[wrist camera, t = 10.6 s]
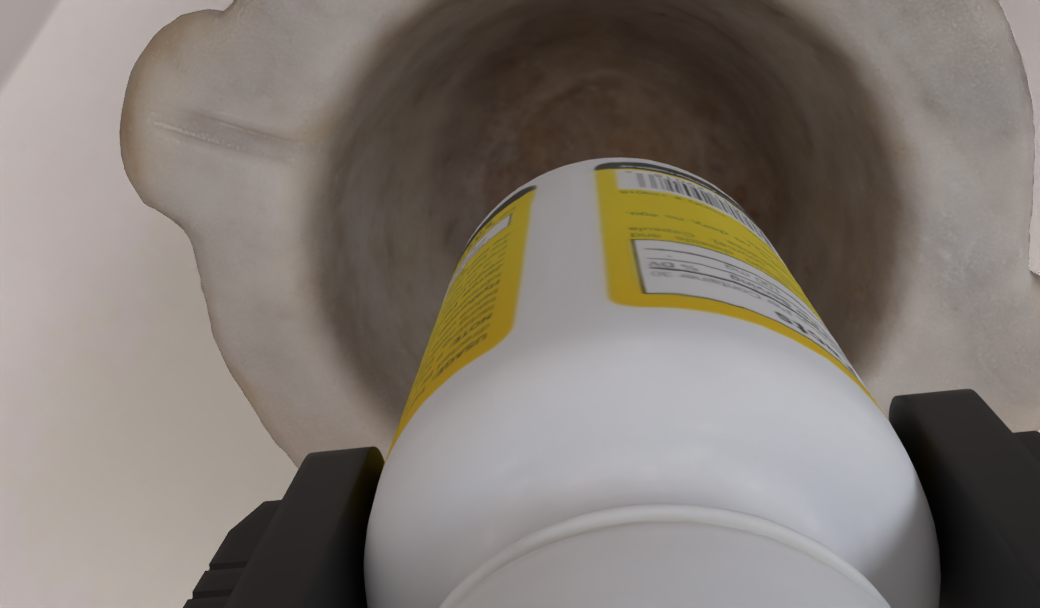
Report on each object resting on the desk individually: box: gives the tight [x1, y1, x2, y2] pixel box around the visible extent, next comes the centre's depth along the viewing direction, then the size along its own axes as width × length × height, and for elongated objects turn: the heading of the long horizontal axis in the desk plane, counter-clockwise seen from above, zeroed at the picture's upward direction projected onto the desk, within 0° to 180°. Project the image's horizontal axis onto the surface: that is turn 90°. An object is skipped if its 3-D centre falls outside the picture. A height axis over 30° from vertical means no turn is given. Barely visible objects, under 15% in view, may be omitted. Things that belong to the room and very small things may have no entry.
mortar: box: [120, 0, 1040, 469], centre depth 22 cm, size 17×17×9 cm
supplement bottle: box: [364, 157, 941, 608], centre depth 10 cm, size 5×5×10 cm
